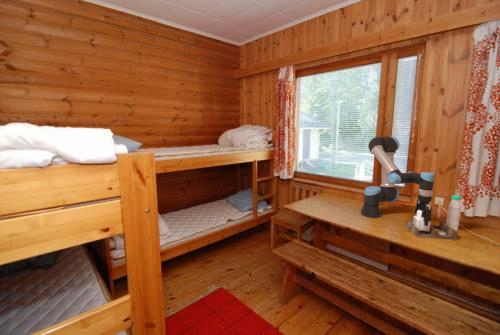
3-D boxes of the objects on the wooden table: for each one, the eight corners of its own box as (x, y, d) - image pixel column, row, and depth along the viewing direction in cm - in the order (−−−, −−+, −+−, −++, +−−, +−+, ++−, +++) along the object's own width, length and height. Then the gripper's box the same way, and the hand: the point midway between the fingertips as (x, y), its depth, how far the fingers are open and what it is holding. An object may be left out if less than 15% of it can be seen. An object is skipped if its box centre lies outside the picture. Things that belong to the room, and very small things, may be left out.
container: (424, 226, 168) (427, 209, 166) (429, 231, 161) (432, 213, 158) (412, 225, 170) (414, 208, 168) (416, 230, 163) (418, 212, 160)
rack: (404, 227, 176) (405, 219, 174) (440, 229, 172) (441, 221, 171) (416, 238, 158) (418, 230, 157) (457, 241, 154) (459, 232, 153)
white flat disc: (428, 229, 169) (428, 228, 168) (441, 230, 167) (441, 229, 167) (435, 235, 161) (435, 233, 160) (449, 236, 159) (449, 234, 159)
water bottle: (442, 228, 173) (447, 195, 168) (448, 226, 175) (453, 194, 171) (453, 232, 166) (459, 198, 162) (460, 230, 169) (465, 196, 164)
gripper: (411, 190, 172) (407, 220, 176) (427, 199, 151) (423, 233, 156) (422, 191, 170) (418, 221, 175) (440, 200, 150) (436, 234, 154)
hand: (421, 226), depth 165 cm, fingers closed on container, 8 cm apart
